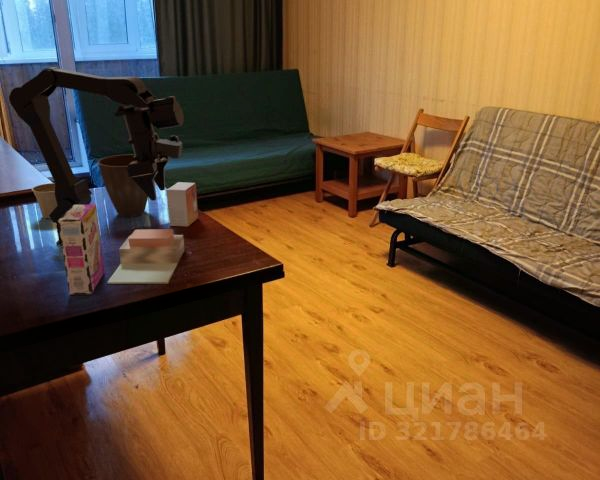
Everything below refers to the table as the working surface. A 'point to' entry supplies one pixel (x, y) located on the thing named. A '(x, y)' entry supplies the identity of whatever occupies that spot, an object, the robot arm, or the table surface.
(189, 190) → the small box
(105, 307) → the table surface
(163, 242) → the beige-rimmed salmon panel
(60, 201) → the robot arm
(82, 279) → the candy bar box
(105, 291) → the table surface
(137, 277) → the mat
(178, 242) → the deck
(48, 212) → the flower pot
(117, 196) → the plant pot
